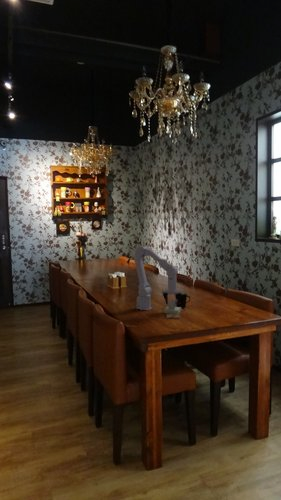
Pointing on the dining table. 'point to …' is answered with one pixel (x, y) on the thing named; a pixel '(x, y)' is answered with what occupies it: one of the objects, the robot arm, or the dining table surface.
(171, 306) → the block
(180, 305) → the coffee mug
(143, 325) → the dining table surface
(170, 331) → the dining table surface
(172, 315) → the plate
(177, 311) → the grey green square tray
